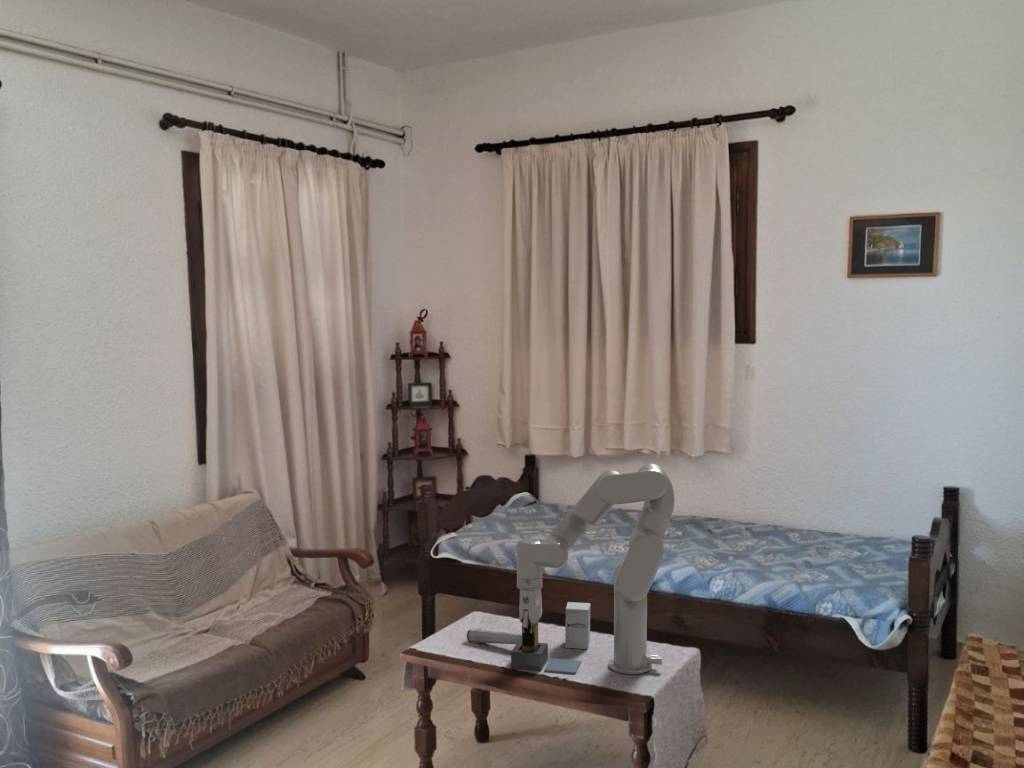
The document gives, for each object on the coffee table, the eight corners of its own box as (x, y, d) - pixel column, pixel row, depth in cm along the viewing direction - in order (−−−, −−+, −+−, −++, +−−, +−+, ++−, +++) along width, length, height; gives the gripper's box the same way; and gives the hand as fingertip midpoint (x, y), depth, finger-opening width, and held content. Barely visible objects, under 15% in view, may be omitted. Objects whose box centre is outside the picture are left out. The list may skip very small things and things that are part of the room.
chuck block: (547, 659, 261) (547, 643, 261) (541, 671, 252) (541, 654, 252) (518, 657, 263) (518, 640, 263) (511, 668, 254) (511, 651, 254)
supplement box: (564, 648, 270) (564, 608, 270) (567, 640, 278) (567, 601, 277) (588, 650, 269) (588, 609, 268) (590, 641, 276) (590, 602, 276)
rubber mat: (580, 662, 258) (580, 660, 258) (575, 674, 250) (575, 672, 250) (551, 660, 261) (551, 658, 261) (544, 671, 252) (544, 669, 252)
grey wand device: (473, 626, 280) (541, 629, 267) (476, 647, 280) (544, 650, 267) (464, 631, 275) (533, 634, 263) (467, 652, 275) (536, 656, 262)
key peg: (540, 661, 259) (539, 617, 259) (536, 667, 255) (536, 622, 254) (524, 659, 261) (524, 616, 260) (520, 665, 256) (520, 621, 255)
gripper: (535, 591, 247) (536, 654, 248) (548, 575, 263) (548, 634, 264) (510, 589, 249) (510, 652, 250) (523, 573, 265) (524, 632, 266)
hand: (530, 642), depth 257 cm, fingers closed on key peg, 4 cm apart
